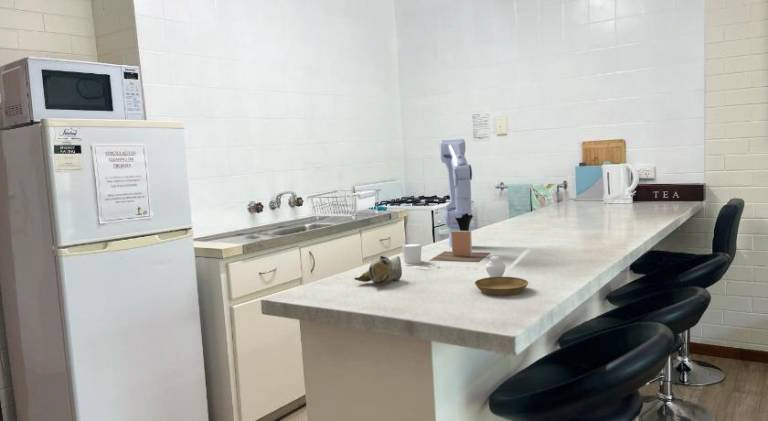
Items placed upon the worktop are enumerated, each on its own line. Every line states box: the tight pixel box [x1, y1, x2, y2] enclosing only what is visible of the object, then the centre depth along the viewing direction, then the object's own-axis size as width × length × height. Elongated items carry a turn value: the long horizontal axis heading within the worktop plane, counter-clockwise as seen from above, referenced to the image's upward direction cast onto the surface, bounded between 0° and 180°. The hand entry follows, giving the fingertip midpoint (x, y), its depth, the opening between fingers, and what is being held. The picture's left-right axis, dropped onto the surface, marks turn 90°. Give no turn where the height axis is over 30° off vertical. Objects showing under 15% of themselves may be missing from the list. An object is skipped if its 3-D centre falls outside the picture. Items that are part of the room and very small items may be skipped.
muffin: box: [484, 255, 507, 277], centre depth 182 cm, size 6×6×7 cm
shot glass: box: [401, 243, 423, 267], centre depth 209 cm, size 7×7×7 cm
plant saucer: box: [474, 276, 529, 297], centre depth 167 cm, size 15×15×3 cm
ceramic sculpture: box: [353, 255, 403, 286], centre depth 183 cm, size 11×9×15 cm
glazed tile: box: [451, 230, 473, 256], centre depth 216 cm, size 2×7×9 cm, turn 66°
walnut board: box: [428, 250, 491, 263], centre depth 215 cm, size 18×18×1 cm
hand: (464, 234), depth 219 cm, fingers closed
